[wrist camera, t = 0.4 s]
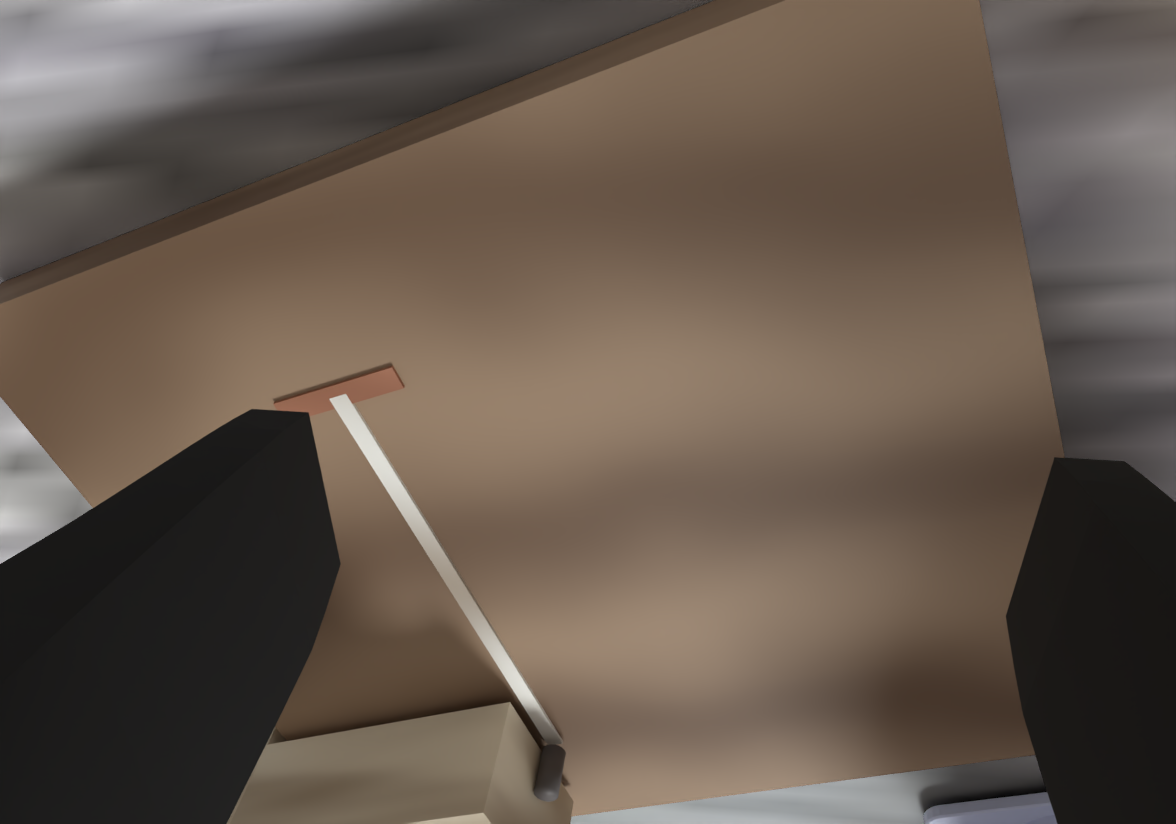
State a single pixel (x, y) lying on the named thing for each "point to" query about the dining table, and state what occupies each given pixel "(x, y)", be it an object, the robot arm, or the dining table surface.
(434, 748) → the cream block
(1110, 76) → the dining table surface
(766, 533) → the board
